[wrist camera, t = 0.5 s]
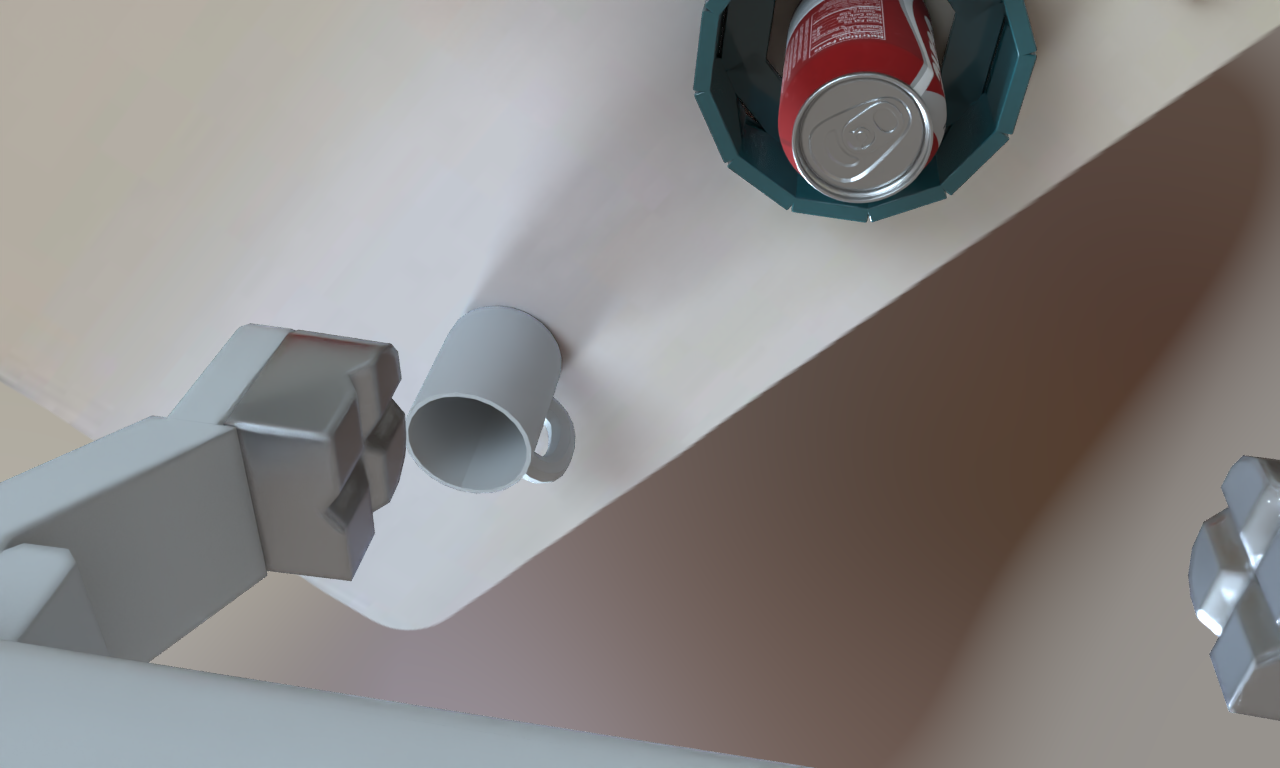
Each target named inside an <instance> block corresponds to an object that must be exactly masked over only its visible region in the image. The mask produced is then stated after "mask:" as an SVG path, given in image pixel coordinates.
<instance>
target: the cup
mask: <svg viewBox="0 0 1280 768" xmlns="http://www.w3.org/2000/svg"><path fill="white" fill-rule="evenodd" d="M561 361H562V357H561V353H560V350H559V346H558V344H557V342H556V341H555V339H554V337H553V335H552V334H551V332H550V331H549V330H548V329H547V328H546V327H545V326H544V325H543V324H542V323H541V322H540V321H539V320H537V319H536V318H534V317H533V316H531V315H529V314H528V313H526V312H523V311H520V310H518V309H515V308H510V307H504V306H491V307H482V308H479V309H476V310H473V311H470V312H468V313H467V314H465V315H464V316H462V317H461V318H460V319H458V321H457V322H456V323H455V325H454V326H453V328H452V329H451V330H450V332H449V334H448V335H447V337H446V339H445V341H444V343H443V345H442V347H441V349H440V351H439V353H438V355H437V357H436V359H435V361H434V363H433V365H432V367H431V369H430V371H429V373H428V375H427V377H426V379H425V381H424V383H423V385H422V387H421V389H420V391H419V393H418V395H417V397H416V399H415V401H414V403H413V405H412V407H411V409H410V411H409V413H408V415H407V418H406V447H407V449H408V452H409V454H410V456H411V457H412V458H413V460H414V461H415V463H416V464H417V465H418V467H420V468H421V469H422V470H423V471H424V472H425V473H426V474H427V475H429V476H430V477H431V478H433V479H435V480H436V481H438V482H440V483H441V484H443V485H445V486H448V487H451V488H453V489H456V490H459V491H464V492H470V493H493V492H497V491H501V490H505V489H507V488H509V487H511V486H512V485H514V484H516V483H518V482H519V480H520V479H521V478H523V479H525V480H528V481H530V482H533V483H548V482H554V481H555V480H557V479H558V478H560V477H561V476H563V474H564V472H565V471H566V469H567V468H568V466H569V464H570V461H571V459H572V456H573V452H574V449H575V431H574V426H573V422H572V420H571V418H570V416H569V414H568V412H567V411H566V409H565V408H564V407H563V406H562V405H561V404H560V402H559V401H557V400H556V399H555V398H554V397H553V395H554V392H555V389H556V386H557V383H558V380H559V377H560V373H561ZM543 424H544V425H545V426H546V429H547V431H548V437H549V443H548V450H547V452H546V454H545V455H544V456H540V455H539V454H537V453H536V452H534V451H535V448H536V445H537V442H538V439H539V436H540V433H541V430H542V427H543Z"/></svg>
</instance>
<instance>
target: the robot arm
mask: <svg viewBox="0 0 1280 768" xmlns="http://www.w3.org/2000/svg"><path fill="white" fill-rule="evenodd" d="M401 379H402V378H401V371H400V363H399V356H398V351H397V350H396V349H395V348H394V346H393V345H392V344H390V343H383V342H377V341H370V340H363V339H357V338H350V337H344V336H337V335H331V334H324V333H317V332H311V331H304V330H293V329H289V328H282V327H274V326H267V325H260V324H252V323H250V324H247V325H244V326H241V327H239V328H238V329H237V330H236V331H235V333H234V334H233V335H232V336H231V338H230V339H229V340H228V341H227V343H226V344H225V345H224V346H223V348H222V349H221V350H220V351H219V353H218V354H217V355H216V356H215V358H214V359H213V360H212V361H211V363H210V364H209V365H208V367H207V368H206V369H205V370H204V372H203V373H202V374H201V375H200V377H199V378H198V379H197V380H196V382H195V383H194V384H193V385H192V387H191V388H190V389H189V390H188V392H187V393H186V394H185V395H184V397H183V398H182V399H181V400H180V402H179V403H178V404H177V405H176V407H175V408H174V409H173V410H172V412H171V413H170V414H169V415H168V417H159V416H150V417H148V418H146V419H143V420H141V421H139V422H137V423H134V424H132V425H130V426H128V427H125V428H123V429H121V430H119V431H116V432H114V433H112V434H109V435H107V436H105V437H103V438H100V439H98V440H96V441H94V442H91V443H89V444H87V445H84V446H82V447H80V448H78V449H75V450H73V451H71V452H69V453H66V454H64V455H62V456H59V457H57V458H55V459H53V460H50V461H48V462H46V463H44V464H41V465H39V466H37V467H34V468H32V469H30V470H28V471H25V472H23V473H21V474H19V475H16V476H14V477H12V478H10V479H7V480H5V481H3V482H0V768H813V767H806V766H800V765H794V764H787V763H780V762H775V761H768V760H762V759H755V758H749V757H743V756H737V755H730V754H723V753H717V752H710V751H704V750H698V749H692V748H686V747H679V746H673V745H666V744H660V743H654V742H647V741H641V740H635V739H628V738H622V737H616V736H609V735H603V734H596V733H590V732H584V731H577V730H571V729H565V728H558V727H552V726H546V725H539V724H533V723H527V722H520V721H514V720H508V719H502V718H495V717H489V716H483V715H476V714H470V713H464V712H457V711H451V710H445V709H438V708H432V707H425V706H419V705H413V704H406V703H400V702H394V701H387V700H380V699H375V698H369V697H362V696H356V695H349V694H343V693H337V692H331V691H324V690H317V689H312V688H305V687H299V686H292V685H286V684H280V683H273V682H267V681H261V680H254V679H248V678H241V677H235V676H229V675H223V674H216V673H210V672H204V671H197V670H191V669H185V668H178V667H172V666H166V665H159V664H153V663H149V662H150V661H151V660H153V659H154V658H155V657H157V656H158V655H159V654H161V653H162V652H163V651H165V650H166V649H167V648H169V647H170V646H172V645H173V644H174V643H176V642H177V641H179V640H180V639H181V638H183V637H184V636H185V635H187V634H188V633H189V632H191V631H192V630H194V629H195V628H196V627H198V626H199V625H200V624H202V623H203V622H204V621H206V620H207V619H208V618H210V617H211V616H213V615H214V614H215V613H217V612H218V611H219V610H221V609H222V608H224V607H225V606H226V605H228V604H229V603H230V602H232V601H233V600H235V599H236V598H237V597H238V596H240V595H241V594H243V593H244V592H245V591H247V590H248V589H250V588H251V587H252V586H254V585H255V584H256V583H258V582H259V581H260V580H262V579H263V578H265V577H266V576H267V571H273V572H281V573H290V574H297V575H306V576H314V577H322V578H330V579H339V580H347V581H352V579H353V577H354V575H355V573H356V571H357V569H358V567H359V565H360V563H361V561H362V558H363V556H364V554H365V552H366V550H367V548H368V546H369V544H370V542H371V540H372V538H373V536H374V534H375V530H374V522H373V513H372V512H374V511H376V510H378V509H379V508H381V507H383V506H384V505H386V504H388V503H389V502H390V501H391V498H392V496H393V494H394V492H395V490H396V487H397V485H398V483H399V480H400V475H401V471H402V467H403V463H404V459H405V451H406V421H405V413H404V412H403V411H402V410H401V409H400V407H399V406H398V405H397V404H396V403H395V401H394V400H393V399H392V396H393V394H394V392H395V390H396V388H397V386H398V384H399V383H400V381H401ZM1221 489H1222V491H1223V494H1224V496H1225V499H1226V501H1227V504H1228V508H1226V509H1224V510H1223V511H1221V512H1219V513H1218V514H1216V515H1214V516H1213V517H1211V518H1209V519H1208V520H1206V521H1204V522H1203V525H1202V527H1201V529H1200V531H1199V534H1198V536H1197V538H1196V540H1195V542H1194V545H1193V547H1192V553H1191V560H1190V566H1189V574H1188V577H1189V587H1190V596H1191V600H1192V603H1193V606H1194V609H1195V613H1196V615H1197V618H1198V619H1200V620H1201V621H1202V622H1203V623H1204V624H1205V625H1206V626H1208V628H1210V629H1211V630H1212V631H1213V632H1214V633H1215V634H1216V635H1217V636H1218V639H1217V641H1216V643H1215V645H1214V647H1213V649H1212V650H1211V652H1210V658H1211V660H1212V663H1213V666H1214V669H1215V672H1216V675H1217V678H1218V681H1219V683H1220V686H1221V689H1222V692H1223V695H1224V698H1225V701H1226V704H1227V707H1228V710H1229V712H1233V713H1238V714H1244V715H1250V716H1255V717H1261V718H1267V719H1273V720H1278V721H1280V460H1276V459H1269V458H1261V457H1253V456H1245V455H1243V456H1242V457H1241V458H1240V459H1239V460H1238V461H1237V462H1236V463H1235V464H1234V465H1233V466H1232V467H1231V468H1230V471H1229V472H1228V474H1227V476H1226V478H1225V480H1224V482H1223V484H1222V486H1221Z"/></svg>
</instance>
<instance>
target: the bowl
mask: <svg viewBox="0 0 1280 768" xmlns="http://www.w3.org/2000/svg"><path fill="white" fill-rule="evenodd" d="M948 2H949V3H950V5H951V6H952V8H953V9H954V11H955V15H954V19H953V23H952V27H951V31H950V34H949V38H948V42H947V46H946V50H945V54H944V58H943V61H942V65H941V69H940V74H941V79H942V84H943V90H944V95H945V101H946V112H947V117H946V126H945V128H946V129H945V131H944V135H943V138H942V141H941V143H940V146H939V148H938V150H937V152H936V153H935V155H934V157H933V158H932V160H931V161H930V162H929V163H928V165H927V166H926V167H925V168H924V169H923V170H922V171H921V173H920V174H919V175H918V176H917V178H916V179H915V180H914V181H913V182H912V183H911V184H909V185H908V186H907V187H906V188H904V189H903V190H901V191H900V192H898V193H896V194H895V195H892V196H890V197H888V198H885V199H882V200H879V201H874V202H868V203H849V202H844V201H840V200H836V199H833V198H830V197H828V196H826V195H824V194H823V193H821V192H819V191H818V190H816V189H815V188H814V187H813V186H812V185H810V184H809V183H808V181H807V180H806V179H805V178H804V177H803V176H801V175H800V174H799V173H798V172H797V171H796V169H795V168H794V167H793V166H792V164H791V163H790V161H789V160H788V158H787V156H786V154H785V152H784V150H783V147H782V144H781V141H780V136H779V130H778V115H779V105H780V97H781V88H782V79H781V77H780V76H779V75H778V73H777V72H776V71H775V69H774V68H773V67H772V65H771V64H770V63H769V61H768V60H767V59H766V56H767V50H768V43H769V37H770V31H771V24H772V18H773V12H774V5H775V0H706V1H705V4H704V8H703V11H702V18H701V26H700V35H699V43H698V52H697V60H696V68H695V77H694V85H693V90H694V91H695V94H694V96H695V99H696V101H697V103H698V105H699V108H700V110H701V112H702V114H703V117H704V119H705V121H706V123H707V126H708V128H709V130H710V132H711V134H712V137H713V139H714V141H715V143H716V146H717V148H718V150H719V152H720V155H721V157H722V159H723V161H724V163H726V162H728V166H727V167H728V168H729V169H731V170H732V171H734V172H735V173H736V174H738V175H739V176H740V177H742V178H743V179H745V180H746V181H747V182H749V183H750V184H751V185H753V186H754V187H756V188H757V189H758V190H760V191H761V192H762V193H764V194H765V195H767V196H768V197H769V198H771V199H772V200H773V201H775V202H776V203H778V204H779V205H780V206H782V207H783V208H784V209H786V210H788V209H789V208H790V207H791V206H792V208H791V210H792V212H796V213H803V214H810V215H817V216H824V217H830V218H837V219H844V220H851V221H858V222H867V220H868V216H869V218H870V221H871V222H875V221H878V220H881V219H884V218H887V217H890V216H893V215H896V214H900V213H903V212H906V211H909V210H912V209H915V208H918V207H921V206H924V205H928V204H931V203H934V202H937V201H940V200H943V199H946V198H947V195H946V192H947V193H948V194H950V195H952V194H953V193H954V192H955V191H956V190H957V189H958V188H960V187H961V186H962V185H963V184H964V183H965V182H966V181H967V180H968V179H969V178H970V177H971V176H972V175H973V174H974V173H975V172H976V171H977V170H978V169H979V168H980V167H981V166H982V165H983V164H984V163H985V162H986V161H987V160H988V159H989V158H991V157H992V156H993V155H994V154H995V153H996V152H997V151H998V150H999V149H1000V148H1001V147H1002V146H1003V145H1004V144H1005V143H1006V142H1007V141H1008V140H1009V136H1008V134H1013V132H1014V128H1015V125H1016V122H1017V119H1018V116H1019V112H1020V109H1021V106H1022V103H1023V100H1024V96H1025V93H1026V90H1027V87H1028V84H1029V80H1030V77H1031V74H1032V71H1033V68H1034V64H1035V61H1036V58H1037V56H1036V53H1035V51H1037V47H1036V43H1035V40H1034V36H1033V32H1032V28H1031V25H1030V21H1029V17H1028V13H1027V10H1026V6H1025V2H1024V0H948ZM727 6H728V8H727V15H726V23H725V30H724V38H723V46H722V53H721V54H720V47H721V39H722V32H723V24H724V16H725V9H726V7H727ZM1004 16H1005V20H1004ZM1003 20H1004V23H1003ZM1002 23H1003V27H1002ZM1001 27H1002V30H1001ZM1000 30H1001V34H1000ZM999 34H1000V37H999ZM998 37H999V41H998ZM997 41H998V44H997ZM996 44H997V48H996ZM995 48H996V51H995ZM994 51H995V55H994ZM993 55H994V58H993ZM992 58H993V62H992ZM991 62H992V65H991ZM990 65H991V69H990V72H989V68H990ZM988 72H989V76H988V79H987V75H988ZM986 79H987V82H986ZM985 82H986V86H985ZM984 86H985V89H984ZM983 89H984V90H983ZM739 98H740V99H739ZM740 100H741V101H742V102H743V103H744V105H745V106H746V107H747V108H748V110H749V111H750V112H751V114H752V115H753V116H754V117H755V119H756V120H757V121H758V122H759V123H757V122H756V121H755V120H753V119H752V118H751V117H749V116H748V115H747V114H746V113H745V111H744V108H743V106H742V104H741V101H740Z"/></svg>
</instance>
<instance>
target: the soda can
mask: <svg viewBox="0 0 1280 768" xmlns="http://www.w3.org/2000/svg"><path fill="white" fill-rule="evenodd" d="M946 117H947V112H946V101H945V95H944V90H943V84H942V79H941V74H940V68H939V63H938V57H937V52H936V46H935V41H934V35H933V30H932V24H931V20H930V15H929V12H928V10H927V7H926V5H925V3H924V1H923V0H801V1H800V3H799V4H798V6H797V7H796V9H795V11H794V13H793V16H792V18H791V21H790V24H789V29H788V35H787V43H786V52H785V61H784V70H783V79H782V88H781V97H780V105H779V115H778V130H779V136H780V141H781V144H782V147H783V150H784V152H785V154H786V156H787V158H788V160H789V161H790V163H791V164H792V166H793V167H794V168H795V169H796V171H797V172H798V173H799V174H800V175H801V176H803V177H804V178H805V179H806V180H807V181H808V183H809V184H810V185H812V186H813V187H814V188H815V189H816V190H818V191H819V192H821V193H823V194H824V195H826V196H828V197H830V198H833V199H836V200H840V201H844V202H849V203H868V202H874V201H879V200H882V199H885V198H888V197H890V196H892V195H895V194H896V193H898V192H900V191H901V190H903V189H904V188H906V187H907V186H908V185H909V184H911V183H912V182H913V181H914V180H915V179H916V178H917V176H918V175H919V174H920V173H921V171H922V170H923V169H924V168H925V167H926V166H927V165H928V163H929V162H930V161H931V160H932V158H933V157H934V155H935V153H936V152H937V150H938V148H939V146H940V143H941V141H942V138H943V135H944V131H945V126H946Z"/></svg>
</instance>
